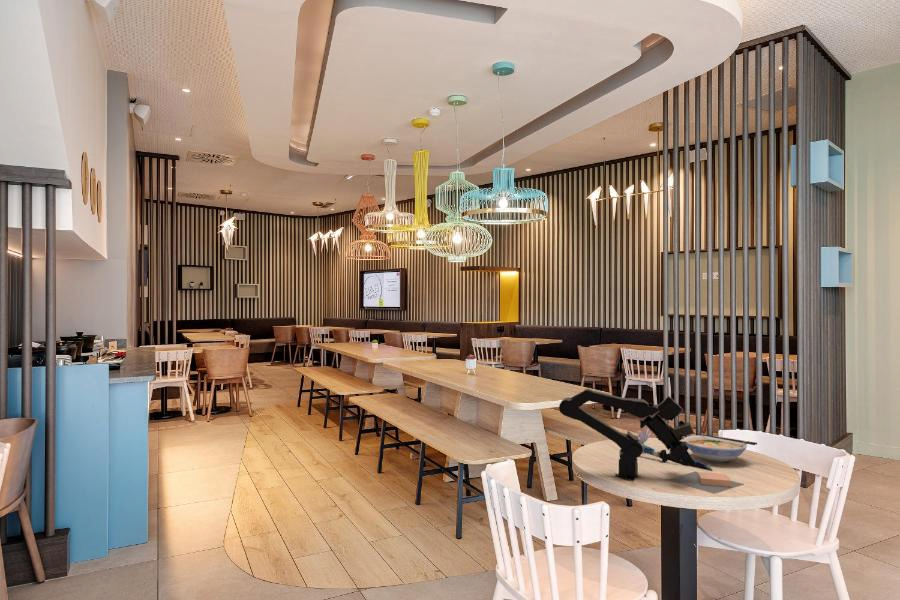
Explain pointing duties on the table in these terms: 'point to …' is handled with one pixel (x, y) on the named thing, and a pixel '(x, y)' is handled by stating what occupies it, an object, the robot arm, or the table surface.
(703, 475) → the tile
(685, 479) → the mat
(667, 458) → the knife
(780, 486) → the table surface
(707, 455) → the ramen bowl
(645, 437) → the water lily
